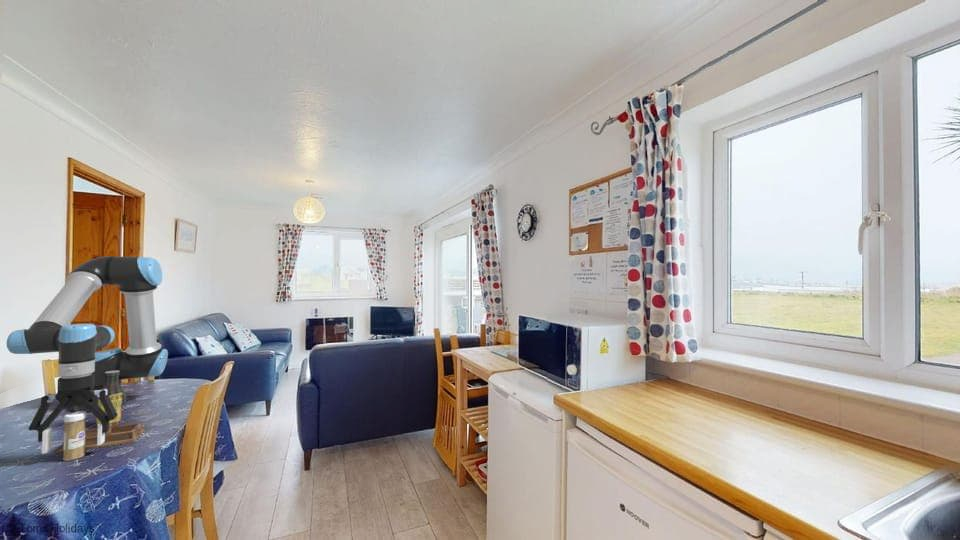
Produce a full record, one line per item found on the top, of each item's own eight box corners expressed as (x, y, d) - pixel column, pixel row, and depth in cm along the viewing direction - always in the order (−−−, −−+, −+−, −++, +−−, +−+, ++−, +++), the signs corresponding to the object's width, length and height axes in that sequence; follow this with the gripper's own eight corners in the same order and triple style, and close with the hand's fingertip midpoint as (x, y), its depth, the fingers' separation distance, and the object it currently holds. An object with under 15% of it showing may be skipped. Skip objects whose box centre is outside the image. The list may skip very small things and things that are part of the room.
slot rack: (76, 438, 121) (77, 429, 121) (146, 428, 130) (146, 420, 130) (55, 454, 111) (56, 444, 111) (133, 442, 119) (133, 433, 119)
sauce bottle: (104, 430, 128) (106, 374, 128) (91, 428, 129) (93, 373, 130) (126, 423, 134) (127, 370, 135) (113, 421, 136) (114, 369, 136)
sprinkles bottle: (76, 460, 107) (78, 415, 108) (57, 462, 106) (59, 416, 107) (89, 453, 112) (90, 409, 112) (71, 454, 111) (72, 411, 111)
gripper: (10, 383, 101) (8, 461, 100) (123, 373, 112) (120, 444, 111) (28, 376, 107) (26, 450, 107) (132, 368, 118) (130, 435, 118)
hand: (74, 447), depth 109 cm, fingers open, 11 cm apart
